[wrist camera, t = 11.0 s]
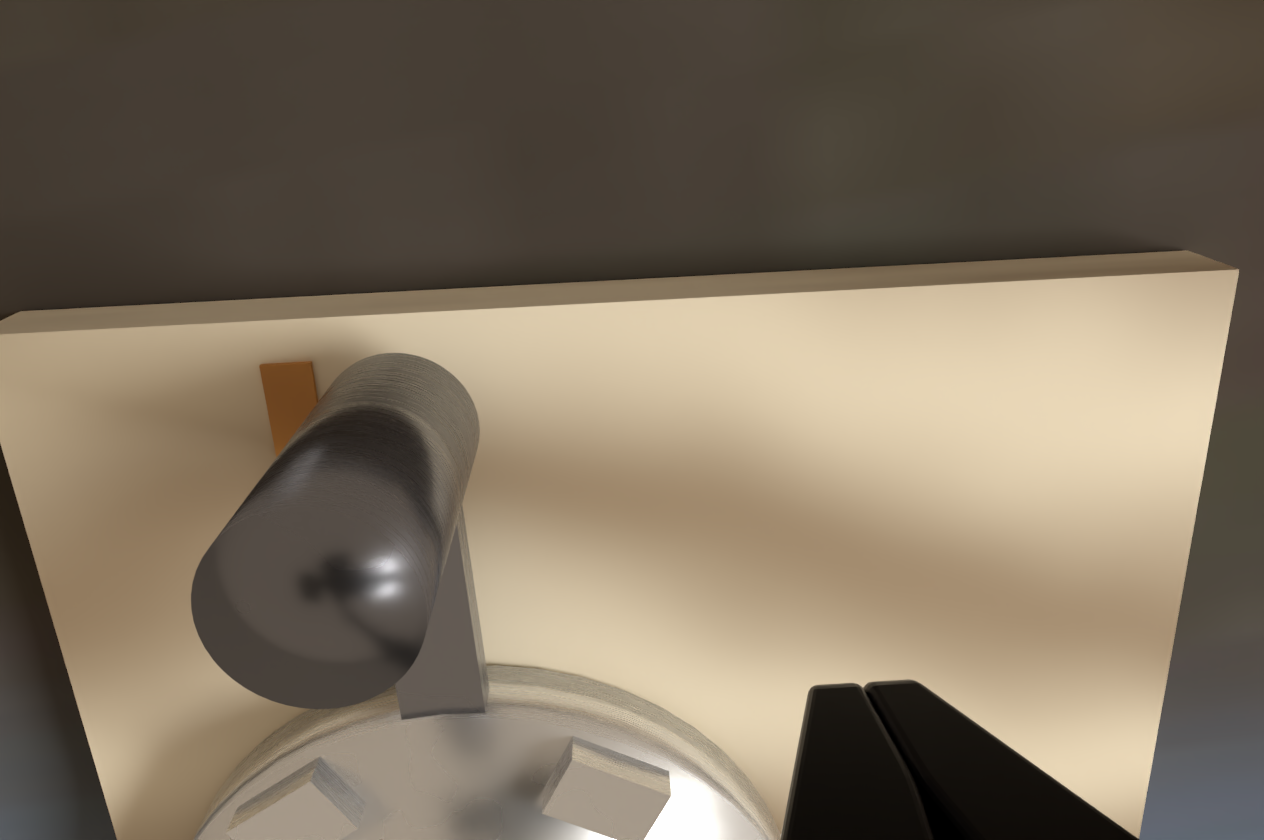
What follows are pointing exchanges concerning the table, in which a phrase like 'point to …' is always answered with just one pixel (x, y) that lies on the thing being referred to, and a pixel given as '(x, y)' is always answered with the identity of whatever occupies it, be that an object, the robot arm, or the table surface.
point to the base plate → (670, 497)
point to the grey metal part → (420, 657)
